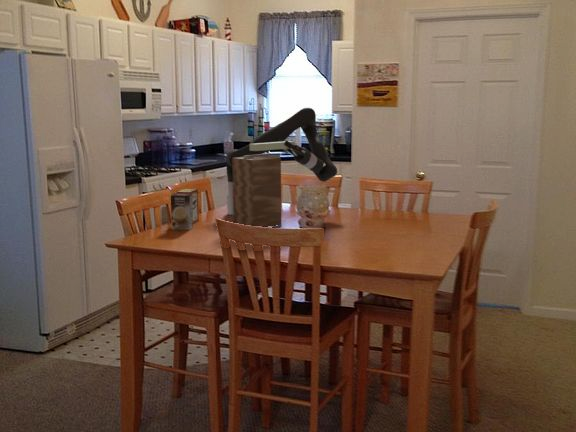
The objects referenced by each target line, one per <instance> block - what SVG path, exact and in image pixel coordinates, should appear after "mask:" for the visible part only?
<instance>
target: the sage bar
mask: <svg viewBox="0 0 576 432" xmlns="http://www.w3.org/2000/svg"><path fill="white" fill-rule="evenodd" d="M285 141H286V140H285ZM285 141H283V142H269V143H255V144H251V143H249V144H250V151H262V150H269V151H274V150H282V149H287V148H288V147H287V146H285V145H284V143H285ZM287 141H288V142H290V143H291V144H294V145H296V141H295V140H294V141H293V140H287Z"/></svg>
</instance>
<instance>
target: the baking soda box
mask: <svg viewBox="0 0 576 432" xmlns="http://www.w3.org/2000/svg"><path fill="white" fill-rule="evenodd" d="M176 193H179V194H192V198H193V224H195V223H197V222H199V221H200V218H199V189H198V188H197V189H195V188H183V189H181V190H178V191H176Z"/></svg>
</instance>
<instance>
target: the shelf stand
mask: <svg viewBox="0 0 576 432" xmlns="http://www.w3.org/2000/svg"><path fill="white" fill-rule="evenodd" d="M232 166H233V210H234V215H233V224H234V223H239V224H244V225H251V226H262V227H268V226H276V225H281V226H282V158H281V155H280V154H272V155H271V153H263V154H258V155H246V156H243V157H237V158H232Z"/></svg>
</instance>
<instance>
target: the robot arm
mask: <svg viewBox="0 0 576 432" xmlns="http://www.w3.org/2000/svg"><path fill="white" fill-rule="evenodd" d="M316 119H317V116H316V112H315V110H314V109H313V108H311V107H304V108H302V109H300V110H298V111H297V112H295V114H293V115H292V116H290V117H289V118H287V119H286V120H284V121H282V122H281V123H279V124H277V125H275V126H273V127H271V128H269V129H268V130H266V131H264V132H263V133H262V134H260V135H259V136H258V137H256V138H255V139H254V140H253V141H252V142H251V143H249V144H248V145H246V146H243V147H242V148H239V149H232V150H231V149H230V150H229V152H227V154H226V159H225V160H226V176H227V198H226V203H227V214H228V215H229V216H234V210H233V166H232V158H237V157H243V156H246V155H258V154H266V153H267V152H269V151H270V150H262V151H250V144H255V143H269V142H283V141H285V143H284V145H285V146H287V147H288V148H287V149H281V150H282V151H283V152H284V153H286V154H290V155H292V156H293V158H294V161H295V162H297V163H298V164H300V165H301V166H303V167H305V168H306V169H308V170H309V171H311V172H312V173H313V174H314V175H315V176H316V178H317V180H319V181H320V182H325V183H326V182H327V181H329V180H330V179H332V178H334V177H336V176H337V174H338V168H337V167H336V165H335V164H334V163H333V161H332V160H331V158H330V156H329V155H328V153H327V149H326V146H325V145H324V143H323V141H322V140H321V137H320V136H319V133H318V130H317V126H316V125H317V124H316V122H317V120H316ZM300 128H301V130H302V132H303V134H304V136H305V137H306V140H307V143H308V144H309V148H310V151H309V150H308V149H307V148H306V147H302V146H300V145H298V144H295V145H294V144H291V143H290V142H288V141H289V140H287V139H288V138H289V137H290V136H291V135H292V134H293V133H294V132H295V131H296V130H298V129H300ZM324 164H325V165H324Z"/></svg>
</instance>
